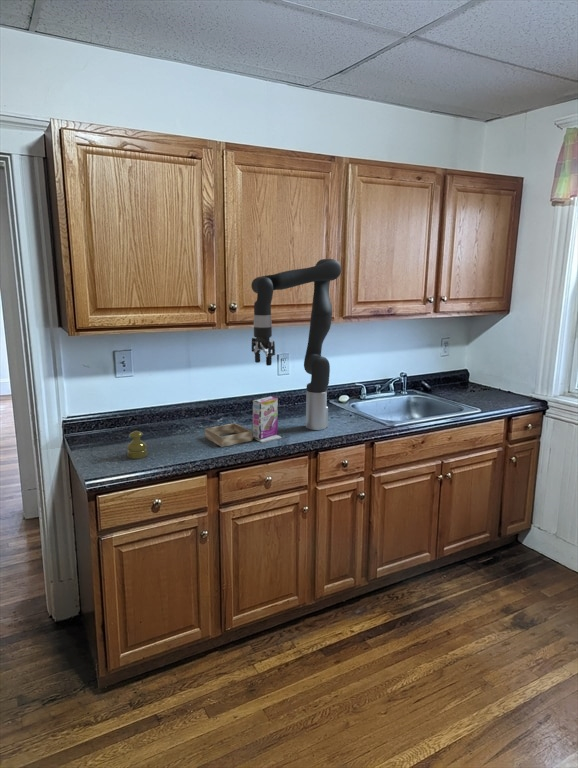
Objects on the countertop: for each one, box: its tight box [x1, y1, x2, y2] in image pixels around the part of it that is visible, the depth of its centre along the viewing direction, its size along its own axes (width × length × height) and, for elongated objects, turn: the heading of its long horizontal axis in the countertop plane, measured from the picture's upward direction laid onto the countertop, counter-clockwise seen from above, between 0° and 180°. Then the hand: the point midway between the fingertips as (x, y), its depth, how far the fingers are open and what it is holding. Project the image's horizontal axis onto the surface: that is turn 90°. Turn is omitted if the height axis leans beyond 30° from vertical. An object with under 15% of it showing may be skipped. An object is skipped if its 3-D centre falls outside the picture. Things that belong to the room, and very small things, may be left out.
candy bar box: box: [251, 395, 279, 440], centre depth 225 cm, size 11×5×16 cm, turn 139°
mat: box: [252, 434, 282, 443], centre depth 227 cm, size 10×10×1 cm
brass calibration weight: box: [126, 430, 148, 460], centre depth 203 cm, size 7×7×10 cm
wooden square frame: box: [204, 422, 253, 448], centre depth 224 cm, size 15×15×4 cm
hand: (263, 363), depth 224 cm, fingers open, 8 cm apart
